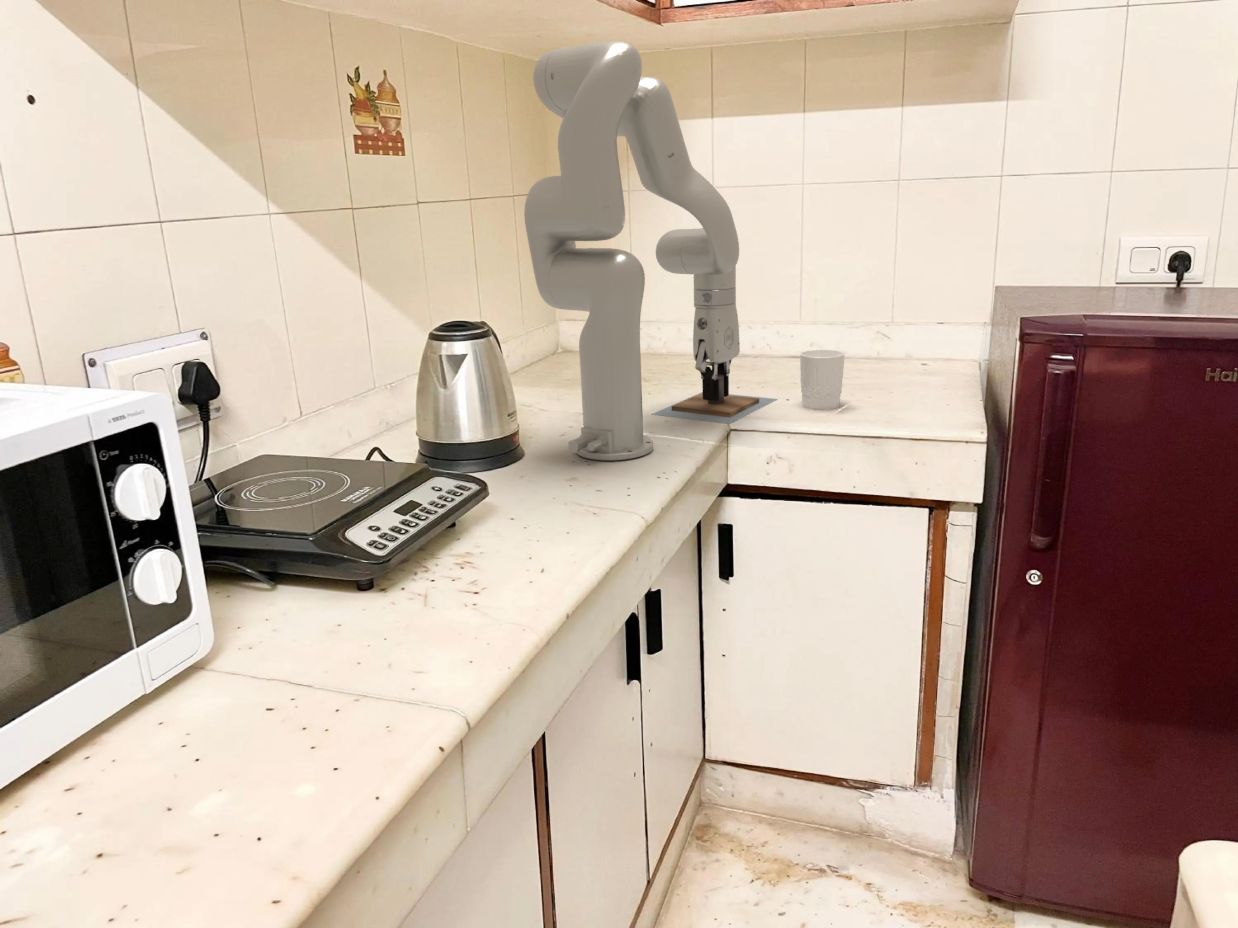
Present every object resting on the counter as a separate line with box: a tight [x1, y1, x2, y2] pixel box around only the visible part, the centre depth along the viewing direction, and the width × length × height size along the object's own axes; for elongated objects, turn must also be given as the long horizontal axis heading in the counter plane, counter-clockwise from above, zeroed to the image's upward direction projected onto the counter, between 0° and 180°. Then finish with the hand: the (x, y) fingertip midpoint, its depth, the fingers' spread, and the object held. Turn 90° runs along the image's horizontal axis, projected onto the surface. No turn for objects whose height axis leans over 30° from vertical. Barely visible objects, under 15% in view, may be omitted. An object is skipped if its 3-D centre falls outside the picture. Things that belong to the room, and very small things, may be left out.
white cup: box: [799, 349, 846, 411], centre depth 167 cm, size 8×8×10 cm
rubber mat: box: [651, 391, 779, 425], centre depth 171 cm, size 20×16×1 cm
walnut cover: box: [672, 374, 759, 417], centre depth 170 cm, size 12×12×6 cm
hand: (715, 397), depth 170 cm, fingers closed on walnut cover, 3 cm apart
